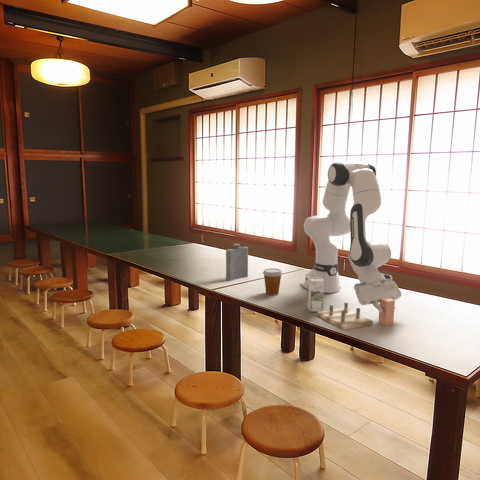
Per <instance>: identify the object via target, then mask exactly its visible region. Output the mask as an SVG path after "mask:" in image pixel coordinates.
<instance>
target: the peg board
mask: <svg viewBox="0 0 480 480" xmlns="http://www.w3.org/2000/svg"><path fill="white" fill-rule="evenodd" d="M343 304H344V305H343V306H344V307H340V308H334V305H333V304H330V305H329V309H327V310H323V311H321V312H316V313H317V314H316V315H317V316H318V317H320V318H322V319H324V320H325V321H327V322H329V323H331V324H333V325H334V326H336V327H338V328H340V329H342V330H344V331H347V330H351V329H358V328H361V327H367V326H373V323H374V321H373V320H371V319H370V318H367V317H365V316H363V315H361V308H360V307H357V308H356V311H352V310H350V309H348V305H349V303H348V302H344V303H343Z"/></svg>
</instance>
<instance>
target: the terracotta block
mask: <svg viewBox="0 0 480 480" xmlns="http://www.w3.org/2000/svg"><path fill="white" fill-rule="evenodd" d="M395 302H396V300H393V299H390V298H384V299H381V300H380V303H379V305H380V306H381V307H383V308H384V310H385V311H384V312H381V313H380V312H379V311H378V323H379V324H381V325H383V326H390V325H391V326H392V325H394V319H395V318H394V316H395V310H394V307H395V306H396V305H395V304H396V303H395Z"/></svg>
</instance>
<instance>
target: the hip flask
mask: <svg viewBox="0 0 480 480" xmlns="http://www.w3.org/2000/svg"><path fill="white" fill-rule="evenodd" d="M232 246H233V248H229V249H228V248H227V249H226V250H225V281H226V282H232V281H235V280H239V279H242V278H243V279H244V278H248V276H249V247H248V246H240V243H233V245H232Z"/></svg>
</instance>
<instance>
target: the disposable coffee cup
mask: <svg viewBox="0 0 480 480" xmlns="http://www.w3.org/2000/svg"><path fill="white" fill-rule="evenodd" d="M262 274H263V277H264V279H263V280H264V288H265V294H266V295H268V296H276V295H279V294H280V286H281V279H282V274H283V272H282V270H281V269H279V268H274V267H273V268H272V267H271V268H265V269H264V270H263V272H262Z"/></svg>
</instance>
